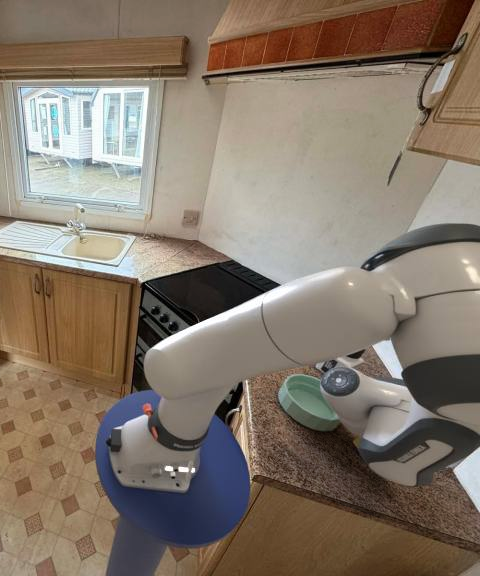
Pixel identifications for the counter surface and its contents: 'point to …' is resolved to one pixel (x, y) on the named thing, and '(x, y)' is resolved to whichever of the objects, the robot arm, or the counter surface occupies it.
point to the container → (343, 362)
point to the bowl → (307, 403)
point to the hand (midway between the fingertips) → (378, 440)
